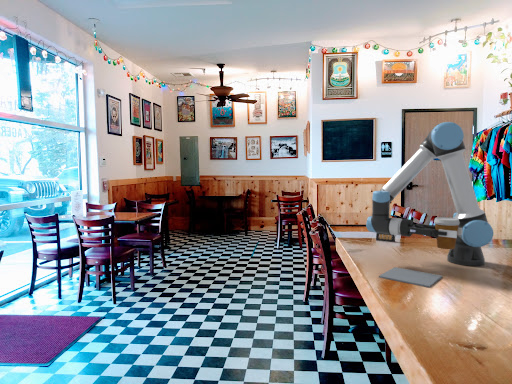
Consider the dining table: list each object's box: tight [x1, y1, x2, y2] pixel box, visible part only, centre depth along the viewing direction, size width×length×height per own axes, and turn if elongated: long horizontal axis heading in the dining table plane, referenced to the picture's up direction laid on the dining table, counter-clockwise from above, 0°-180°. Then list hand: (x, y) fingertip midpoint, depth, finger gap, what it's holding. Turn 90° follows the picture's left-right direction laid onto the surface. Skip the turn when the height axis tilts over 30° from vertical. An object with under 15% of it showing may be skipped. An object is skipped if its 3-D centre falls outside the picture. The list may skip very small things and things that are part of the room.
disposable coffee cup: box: [433, 216, 460, 250], centre depth 152 cm, size 10×10×12 cm
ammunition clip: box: [375, 233, 396, 243], centre depth 220 cm, size 11×2×12 cm, turn 62°
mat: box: [378, 266, 443, 288], centre depth 148 cm, size 17×19×1 cm
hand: (459, 233), depth 149 cm, fingers closed on disposable coffee cup, 8 cm apart
